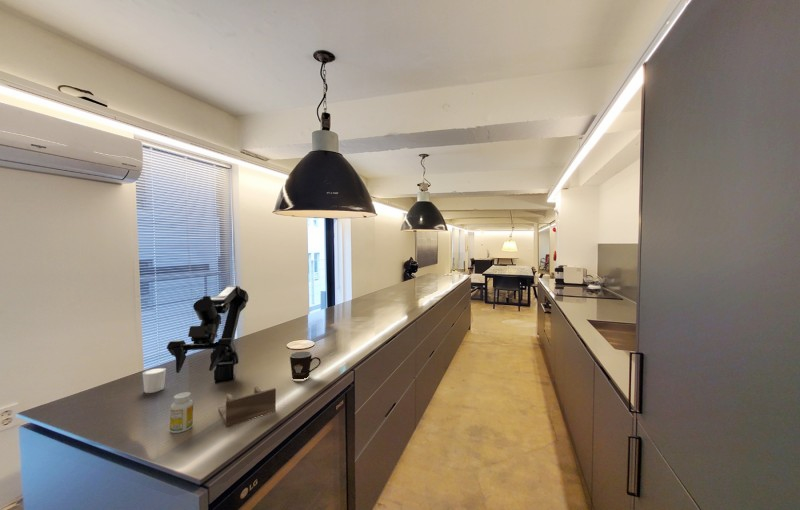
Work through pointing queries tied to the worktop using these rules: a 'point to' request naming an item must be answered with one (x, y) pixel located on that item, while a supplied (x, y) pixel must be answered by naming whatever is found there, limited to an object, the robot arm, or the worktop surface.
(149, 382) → the white cup
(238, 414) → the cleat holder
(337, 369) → the worktop surface
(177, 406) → the supplement bottle
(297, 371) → the coffee mug
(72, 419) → the worktop surface
